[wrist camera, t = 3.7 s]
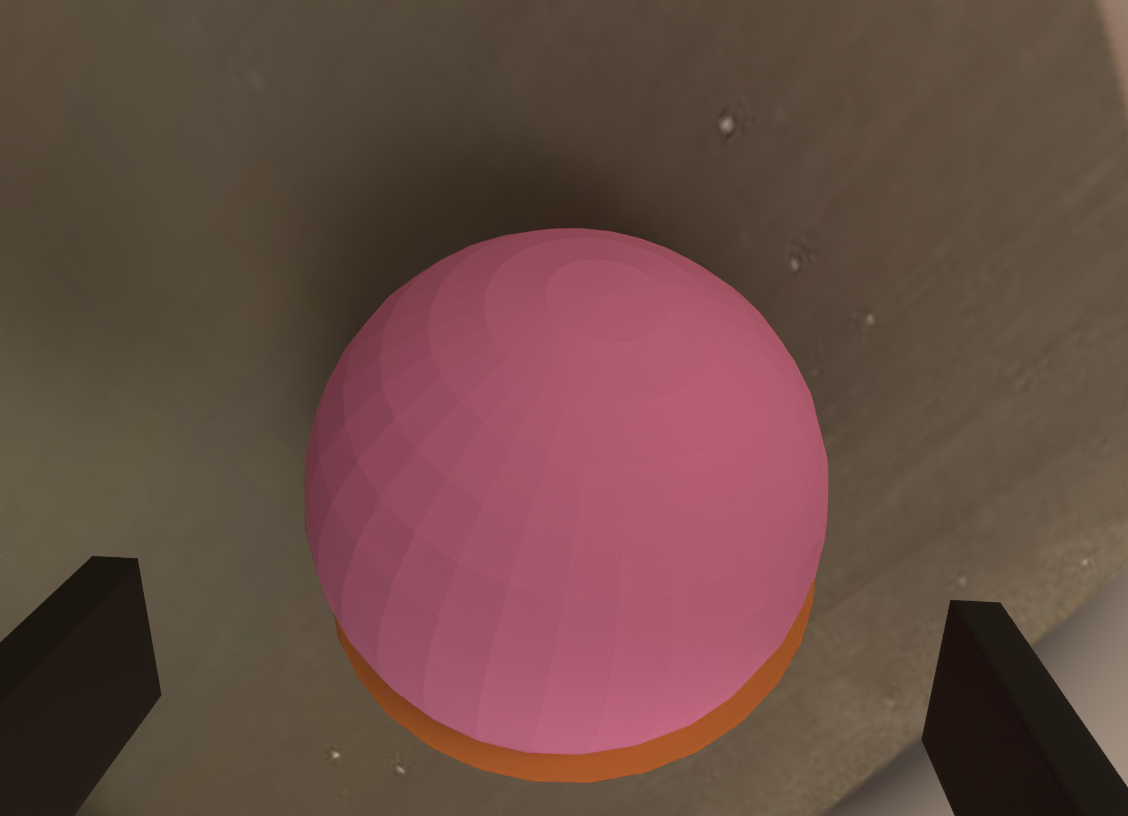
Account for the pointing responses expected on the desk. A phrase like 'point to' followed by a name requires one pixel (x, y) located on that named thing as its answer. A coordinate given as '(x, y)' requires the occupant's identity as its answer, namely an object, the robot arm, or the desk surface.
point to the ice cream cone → (567, 505)
